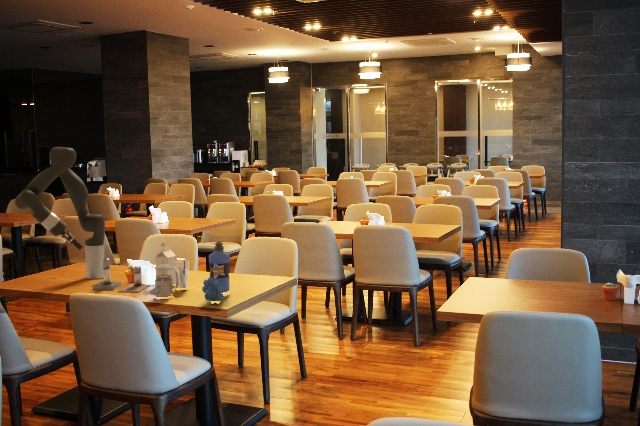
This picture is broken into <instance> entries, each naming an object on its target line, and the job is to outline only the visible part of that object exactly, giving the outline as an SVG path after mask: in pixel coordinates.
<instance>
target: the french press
mask: <svg viewBox="0 0 640 426" xmlns="http://www.w3.org/2000/svg"><path fill="white" fill-rule="evenodd" d="M160 246H162V247H164V246H166V243H164V242H161V244H160ZM172 268H173V267H172V266H170V265H168V264H164V252H163V264H161V265H158V266H156V265H155V267H154V270H155V271H156V270H159V273H160V272H161V271H160V270H163V274H162V275H160V276H159V275H158V276H156V275H155V280H154V283H155V284H154V285H155V286H154V288H155V290H154V291H155V295H154V296H156V297H168V296H172V295H174V286H173V279H170V278H171V277H172V276H171V275H164V270H169V269H172ZM161 273H162V272H161ZM156 278H158V279H156ZM161 279H163V281H161ZM156 285H157V286H156ZM170 294H172V295H170Z"/></svg>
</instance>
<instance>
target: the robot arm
mask: <svg viewBox="0 0 640 426" xmlns="http://www.w3.org/2000/svg"><path fill="white" fill-rule="evenodd" d="M49 160H50V162H51V164H52V165H51V166H49V167H47V168H46V169H45V170H42V171H41V172H40V173H38V174H36V176H35V177H34V178H33V179H32V180H31V181H29V184H28V185H27V186H26V187H25V188H24V189H22V190H21V192H19V194H18V195H17V196H16V197H15V199H14V204H15V206H16V208H18V209H20V210H26V209H29V208H30V209H31V211H32V213H31V215H32V217H33V218H34V219H35V220H36V221H37V222H39V224H41V226H43V228H44V229H45V230H47V231H48V232H50V234H51V235H53V236H54V237H58V236H59V235H61V238H62V239H63V240H64V241H67V243H69V244H71V245H72V246H74V247H75V248H76V249H78V250H79V251H81V250H82V249H83V248H84V249H85V251H84V252H85V276H86V277H85V279H90V280H97V279H103V259H104V258H105V247H104V246H105V245H104V244H105V237H106V235H105V233H106V232H105V230H106V222H105V220H106V219H105V218H104V216H103V215H102V214H96V213H95V214H93V213H92V214H91V213H89V211H88V209H87V204H88V200H89V191H88V187H86V183H84V181H83V180H82V178H80V176H78V175H77V174H76V173H75V172H74V171H73V169H71V167H73V165H74V164H75V163H76V160H77V153H76V151H75V149H74V148H71V147H65V146H64V147H63V146H54V147H52V148H51V149H50V151H49ZM58 177H59V178H60V180H61V182H62V184H63V186H64V188H65V190H66V192H67V194H68V197H69V199H70V202H71V203H72V205H73V207H74V210H75V213H76V215H77V218H78V221H79V225H80V227H81V228H82V230H83V231H84V232H86V233H93V235H92V236H91V237H90V238H87V239H85V241H84V246H85V247H84V246H83V245H82V244H81V243H79V241H77V239H76V238H75V236H73V234H72V233H71V232H70V231H69V230H65V229H67V227H68V225H67V223H66V222H65V221H64V220H62V219H61V218H60V217H59V216H58V215H57V214H55V213H54V212H53V211H51V210H50V209H49V208H48V207H46V206H45V204H44V202H43V201H42V200H41V199H40V197H39V196H40V195H41V194H43V193H44V192H45V191H46V190H47V188H48V187H49V186H50V185H51V184H52V183H53V182H54V181H55V180H56V179H57V178H58Z"/></svg>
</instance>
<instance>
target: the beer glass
mask: <svg viewBox="0 0 640 426" xmlns="http://www.w3.org/2000/svg"><path fill="white" fill-rule="evenodd" d="M174 272H175V278H176V286H175V289H176V288H186V287H188V288H189V285H188V284H189V283H188V280H189V272H190V263H189V257H188V258H186V257H179V258H177V257H176V259H174Z"/></svg>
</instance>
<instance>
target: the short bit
mask: <svg viewBox="0 0 640 426" xmlns="http://www.w3.org/2000/svg"><path fill="white" fill-rule="evenodd" d="M133 269H134V273H133V274H134V275H133V279H134V280H133V284H134V286H142V284H143V282H142V279H143V277H142V266H134V268H133Z"/></svg>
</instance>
